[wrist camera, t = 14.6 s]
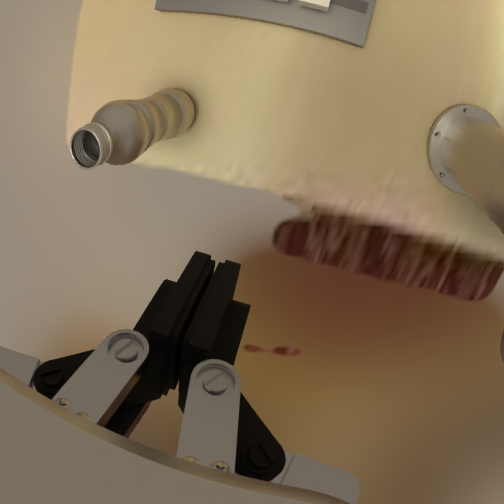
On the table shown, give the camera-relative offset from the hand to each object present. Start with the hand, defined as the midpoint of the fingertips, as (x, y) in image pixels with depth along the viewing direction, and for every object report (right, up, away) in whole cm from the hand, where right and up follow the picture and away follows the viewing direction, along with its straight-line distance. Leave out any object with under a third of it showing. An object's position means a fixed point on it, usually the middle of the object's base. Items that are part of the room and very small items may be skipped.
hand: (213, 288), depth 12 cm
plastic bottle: (-9, +21, +28) cm, 36 cm away
